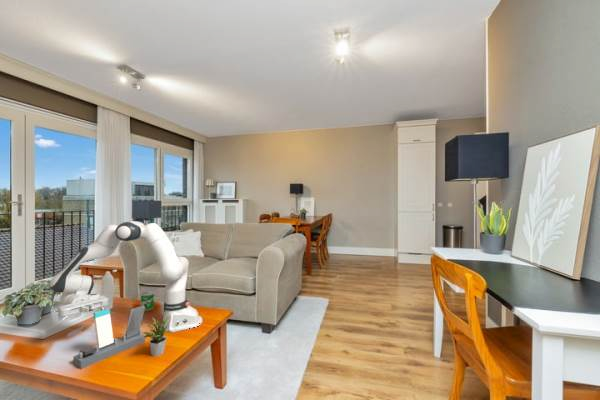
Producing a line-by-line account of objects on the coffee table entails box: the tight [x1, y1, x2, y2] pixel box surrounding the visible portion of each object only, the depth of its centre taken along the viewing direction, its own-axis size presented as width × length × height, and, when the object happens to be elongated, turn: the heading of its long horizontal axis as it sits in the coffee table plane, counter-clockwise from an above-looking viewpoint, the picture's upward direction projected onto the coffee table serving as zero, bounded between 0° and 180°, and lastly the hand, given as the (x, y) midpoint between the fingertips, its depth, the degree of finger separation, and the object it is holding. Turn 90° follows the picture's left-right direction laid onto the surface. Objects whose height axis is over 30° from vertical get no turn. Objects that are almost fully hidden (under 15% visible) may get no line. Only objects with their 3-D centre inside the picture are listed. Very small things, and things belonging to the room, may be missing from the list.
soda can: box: [140, 290, 155, 312], centre depth 178 cm, size 8×8×12 cm
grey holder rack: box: [72, 328, 146, 370], centre depth 127 cm, size 27×8×5 cm, turn 149°
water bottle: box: [100, 269, 118, 310], centre depth 179 cm, size 9×6×25 cm
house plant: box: [139, 316, 173, 357], centre depth 128 cm, size 14×14×16 cm
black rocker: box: [79, 346, 97, 355], centre depth 119 cm, size 4×6×1 cm, turn 59°
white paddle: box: [93, 309, 114, 348], centre depth 127 cm, size 6×2×16 cm, turn 149°
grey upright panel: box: [124, 305, 145, 339], centre depth 134 cm, size 6×2×16 cm, turn 149°
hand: (90, 309), depth 134 cm, fingers closed
